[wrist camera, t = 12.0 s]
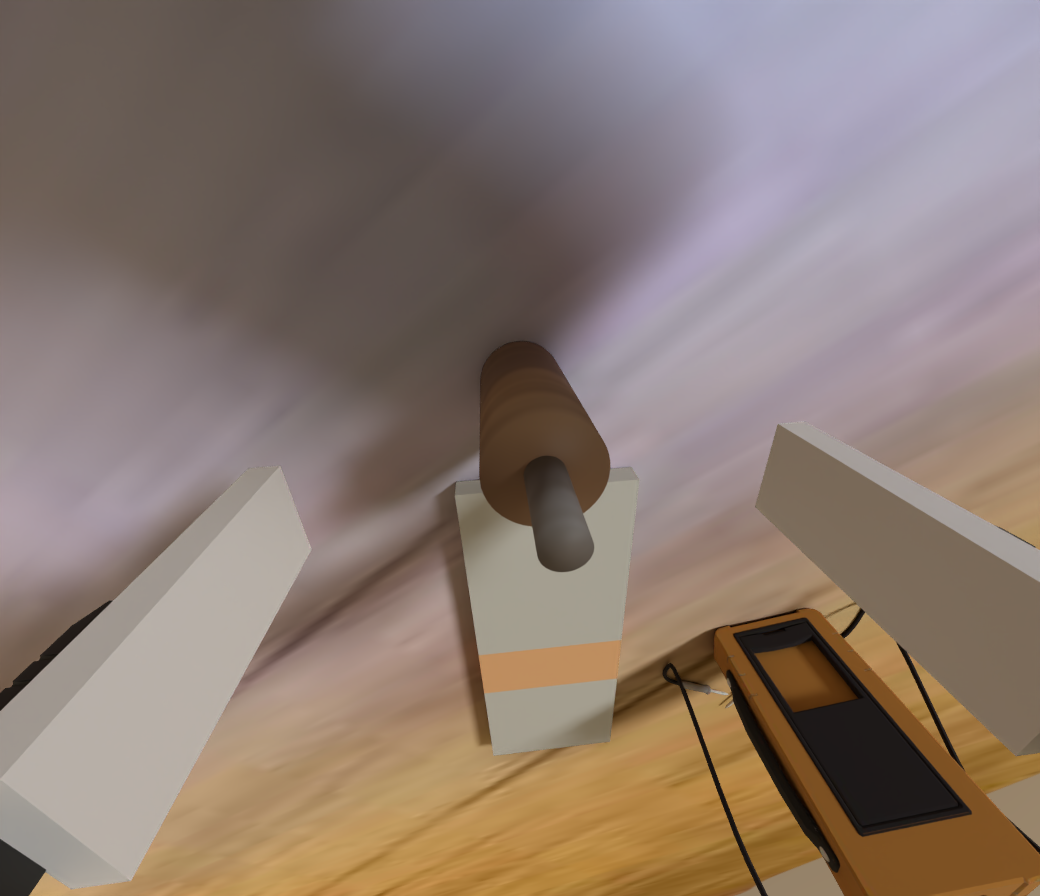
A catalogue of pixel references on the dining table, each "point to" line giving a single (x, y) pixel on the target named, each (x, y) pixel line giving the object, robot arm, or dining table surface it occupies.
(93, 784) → the robot arm
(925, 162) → the dining table surface
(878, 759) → the multimeter
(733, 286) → the dining table surface
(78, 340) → the dining table surface
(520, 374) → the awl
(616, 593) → the panel
